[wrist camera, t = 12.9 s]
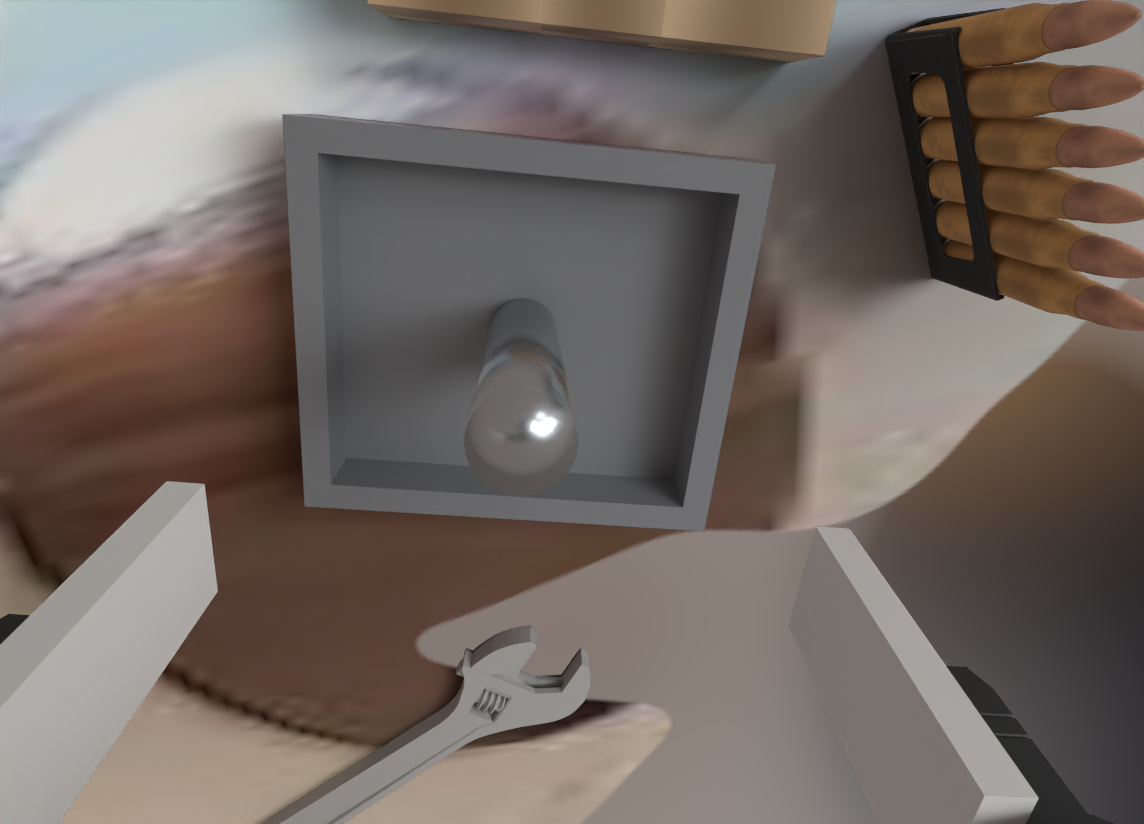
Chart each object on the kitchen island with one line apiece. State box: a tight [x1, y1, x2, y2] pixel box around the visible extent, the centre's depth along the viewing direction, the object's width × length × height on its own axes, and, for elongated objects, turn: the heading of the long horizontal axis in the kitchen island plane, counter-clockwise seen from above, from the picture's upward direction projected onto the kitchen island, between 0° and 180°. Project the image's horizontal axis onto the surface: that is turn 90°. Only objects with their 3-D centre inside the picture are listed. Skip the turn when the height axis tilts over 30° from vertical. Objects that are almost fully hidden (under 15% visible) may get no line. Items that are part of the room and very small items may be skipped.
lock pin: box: [464, 298, 578, 495], centre depth 25 cm, size 3×3×14 cm
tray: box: [283, 114, 776, 531], centre depth 31 cm, size 18×16×4 cm
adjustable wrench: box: [262, 625, 591, 824], centre depth 42 cm, size 25×6×2 cm, turn 124°
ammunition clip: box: [885, 0, 1144, 331], centre depth 25 cm, size 11×2×12 cm, turn 22°
